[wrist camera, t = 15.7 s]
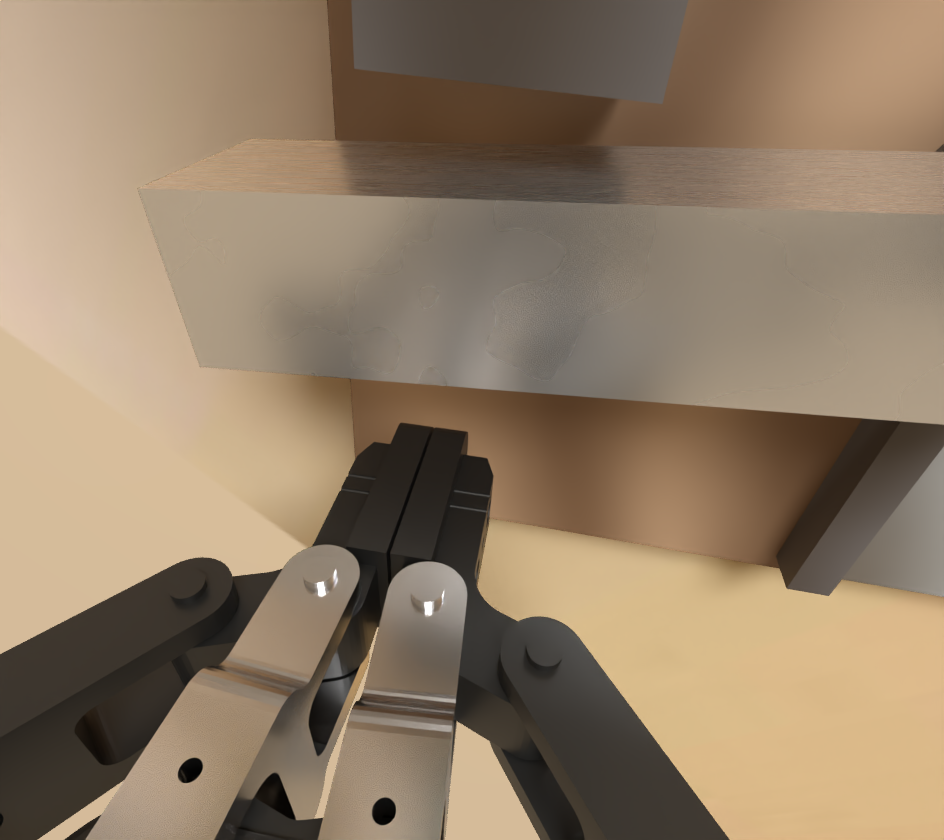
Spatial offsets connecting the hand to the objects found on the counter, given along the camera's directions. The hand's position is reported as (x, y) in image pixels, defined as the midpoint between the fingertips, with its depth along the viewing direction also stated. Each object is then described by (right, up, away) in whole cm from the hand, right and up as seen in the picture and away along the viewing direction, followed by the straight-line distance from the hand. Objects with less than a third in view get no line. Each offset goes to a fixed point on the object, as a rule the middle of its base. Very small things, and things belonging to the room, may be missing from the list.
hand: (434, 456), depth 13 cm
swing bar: (+5, +4, -2) cm, 7 cm away
